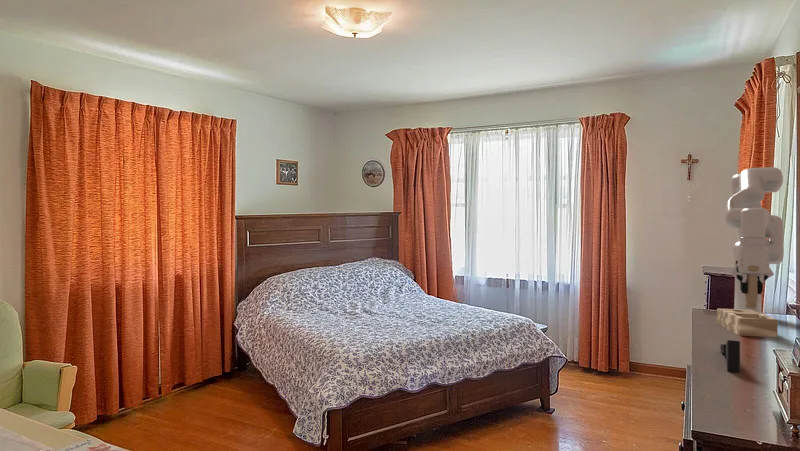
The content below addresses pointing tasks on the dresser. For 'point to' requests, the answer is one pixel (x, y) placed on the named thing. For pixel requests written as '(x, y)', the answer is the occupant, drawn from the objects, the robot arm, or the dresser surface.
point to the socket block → (747, 322)
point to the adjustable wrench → (732, 355)
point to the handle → (751, 288)
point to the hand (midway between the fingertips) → (751, 292)
